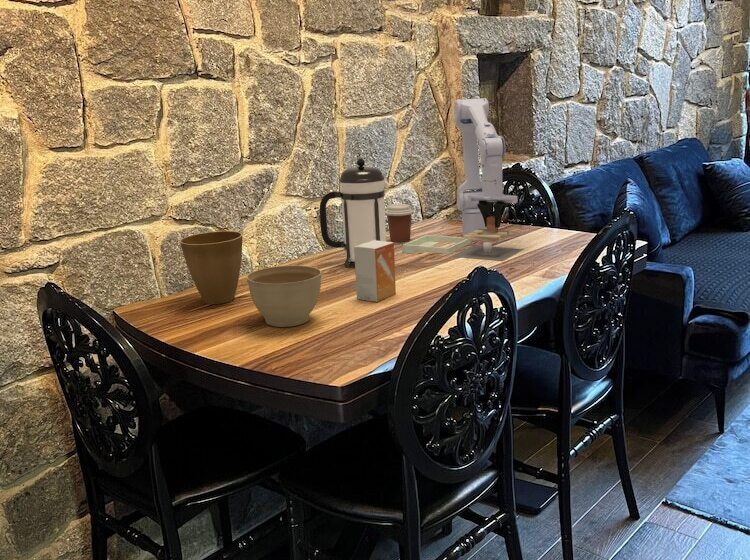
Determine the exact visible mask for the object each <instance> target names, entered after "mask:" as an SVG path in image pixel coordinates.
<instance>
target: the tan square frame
mask: <svg viewBox="0 0 750 560" xmlns="http://www.w3.org/2000/svg"><path fill="white" fill-rule="evenodd" d="M482 234H488V235H482ZM509 235H511V230H508V229H507V230H505V229H499V227H498V228H495V215H490V216H489V217H487V229H477V230H475V231H473V232H471V233H468V234H466V235H464V237H463V238H464V239H470V240H471V241H473V240H474V241H483V242H498V241H500V240H502V239H504V238H506V237H508V236H509Z"/></svg>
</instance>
